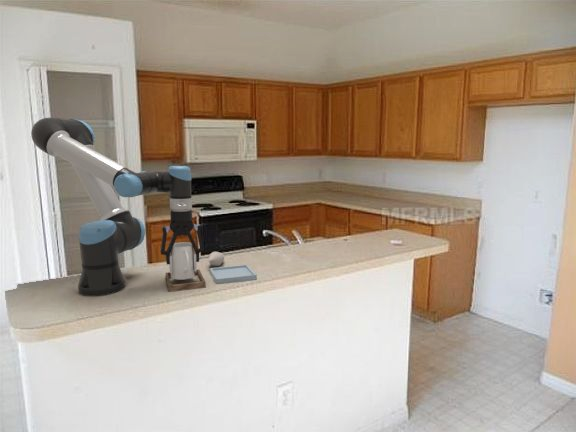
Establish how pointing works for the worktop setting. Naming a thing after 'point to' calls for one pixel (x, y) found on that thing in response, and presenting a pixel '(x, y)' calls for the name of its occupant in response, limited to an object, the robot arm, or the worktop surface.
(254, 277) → the tray
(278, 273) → the worktop surface
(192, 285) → the walnut frame
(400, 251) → the worktop surface
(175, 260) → the mug
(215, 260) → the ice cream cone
